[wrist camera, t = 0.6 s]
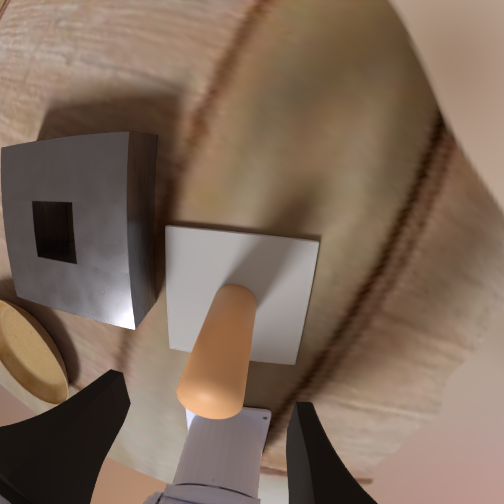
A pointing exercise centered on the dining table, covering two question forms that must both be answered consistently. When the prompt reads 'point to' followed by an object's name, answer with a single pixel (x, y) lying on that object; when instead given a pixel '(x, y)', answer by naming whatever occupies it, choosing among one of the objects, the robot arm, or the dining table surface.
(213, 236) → the mat
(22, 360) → the plant saucer
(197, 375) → the peg
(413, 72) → the dining table surface
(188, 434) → the robot arm
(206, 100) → the dining table surface
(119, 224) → the socket block
